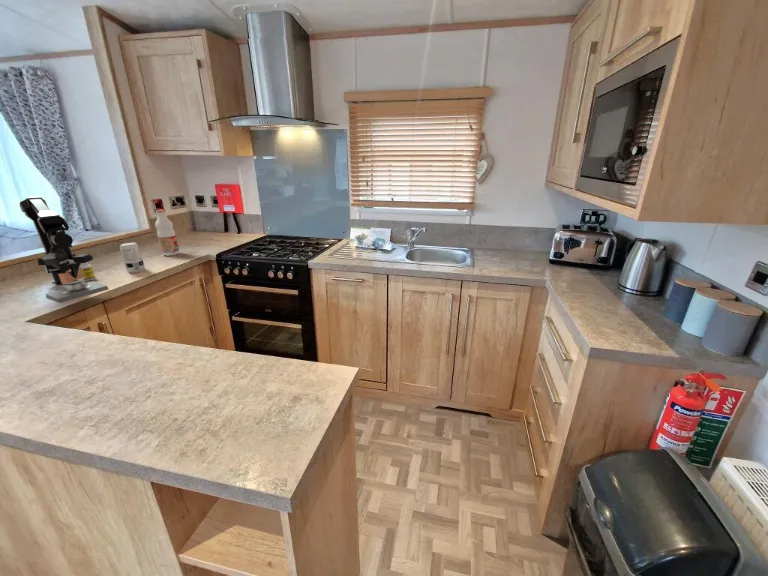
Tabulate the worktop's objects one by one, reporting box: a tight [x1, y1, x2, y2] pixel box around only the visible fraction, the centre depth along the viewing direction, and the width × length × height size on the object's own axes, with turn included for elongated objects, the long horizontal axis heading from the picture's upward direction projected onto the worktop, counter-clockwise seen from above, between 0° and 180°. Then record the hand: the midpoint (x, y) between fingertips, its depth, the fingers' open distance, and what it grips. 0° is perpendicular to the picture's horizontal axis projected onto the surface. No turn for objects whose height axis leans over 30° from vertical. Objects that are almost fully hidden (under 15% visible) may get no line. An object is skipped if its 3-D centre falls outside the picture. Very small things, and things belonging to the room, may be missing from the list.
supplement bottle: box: [80, 262, 96, 282], centre depth 169 cm, size 5×5×10 cm
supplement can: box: [119, 242, 146, 274], centre depth 180 cm, size 8×8×15 cm
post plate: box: [44, 280, 109, 303], centre depth 153 cm, size 14×18×4 cm
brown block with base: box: [58, 267, 88, 291], centre depth 151 cm, size 9×10×8 cm
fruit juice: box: [154, 209, 180, 257], centre depth 209 cm, size 9×9×28 cm
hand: (72, 277), depth 151 cm, fingers closed on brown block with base, 2 cm apart
